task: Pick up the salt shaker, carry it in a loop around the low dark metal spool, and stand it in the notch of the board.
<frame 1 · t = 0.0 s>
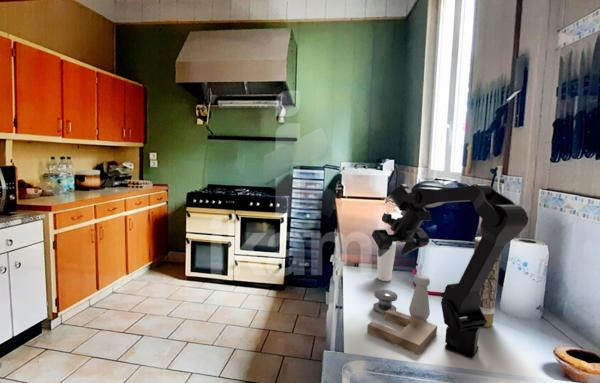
hand: (390, 254, 112), 15 cm above the countertop, tool tilted 35°, fingers open, 9 cm apart
notched board: (402, 333, 90), on the countertop
spool: (384, 309, 104), on the countertop
salt shaker: (418, 319, 100), on the countertop
wooden log: (479, 322, 99), on the countertop
drinking glass: (384, 279, 130), on the countertop
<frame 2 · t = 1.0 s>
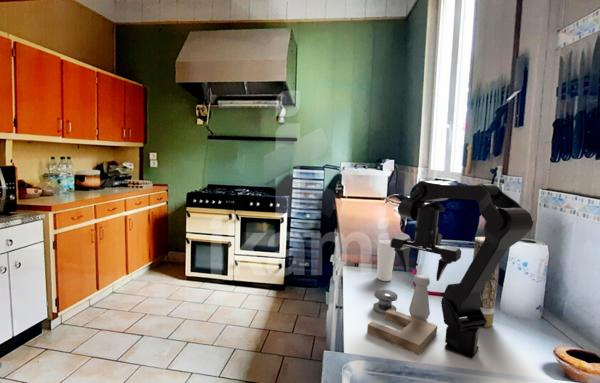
hand: (421, 276, 98), 13 cm above the countertop, tool pointing down, fingers open, 9 cm apart
nothing on the countertop moved.
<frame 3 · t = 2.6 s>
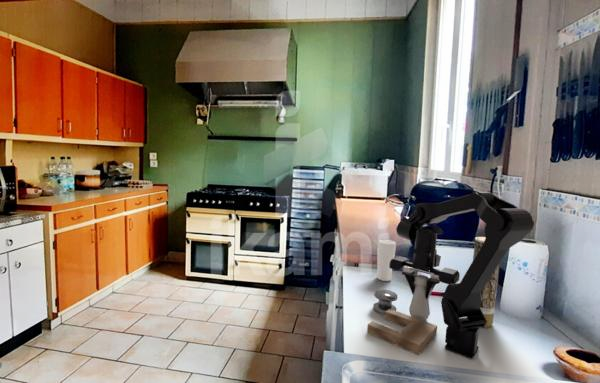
hand: (420, 297, 99), 7 cm above the countertop, tool pointing down, fingers closed on salt shaker, 3 cm apart
salt shaker: (418, 319, 100), on the countertop, touching gripper
everything else where it was.
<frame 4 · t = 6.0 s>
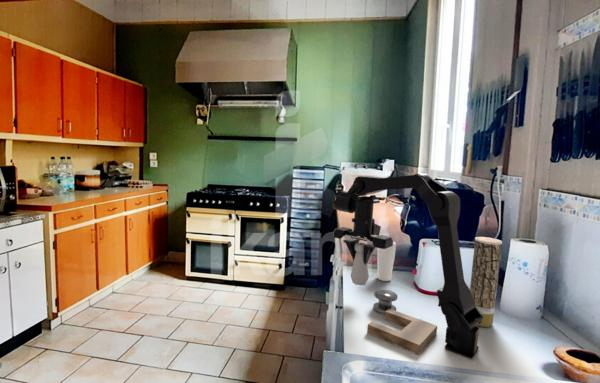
hand: (360, 263, 108), 13 cm above the countertop, tool pointing down, fingers closed on salt shaker, 3 cm apart
salt shaker: (359, 283, 108), point 6 cm above the countertop, touching gripper
everything else where it was.
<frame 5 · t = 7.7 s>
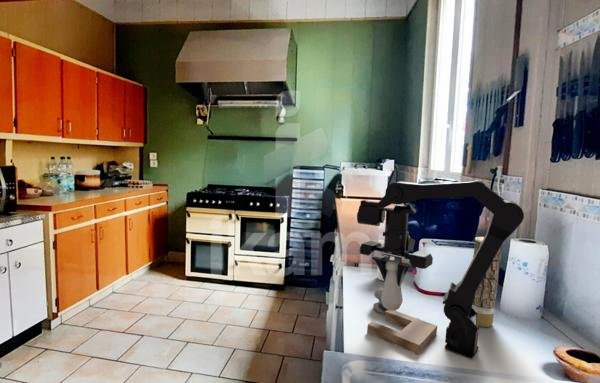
hand: (392, 284, 92), 13 cm above the countertop, tool pointing down, fingers closed on salt shaker, 3 cm apart
salt shaker: (391, 307, 92), point 6 cm above the countertop, touching gripper
everything else where it was.
when the fingers open (8 cm above the countertop, at t = 9.3 s): salt shaker drops 1 cm, on the countertop.
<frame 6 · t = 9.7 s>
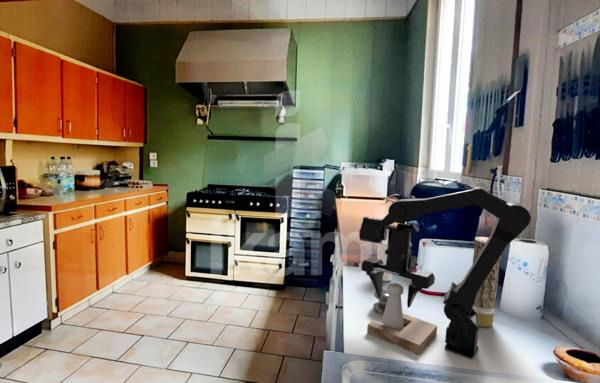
hand: (394, 301, 91), 8 cm above the countertop, tool pointing down, fingers open, 8 cm apart
salt shaker: (392, 330, 92), on the countertop
everything else where it was.
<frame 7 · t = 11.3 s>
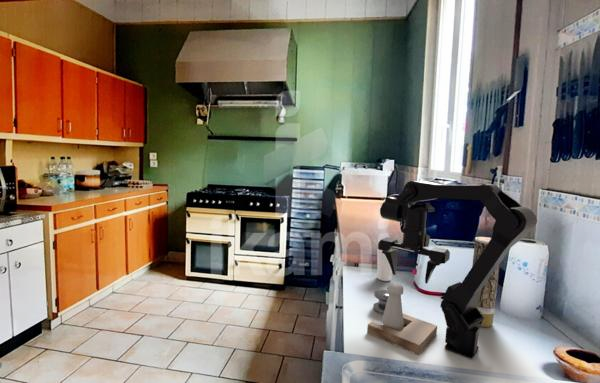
hand: (410, 278, 96), 13 cm above the countertop, tool pointing down, fingers open, 9 cm apart
nothing on the countertop moved.
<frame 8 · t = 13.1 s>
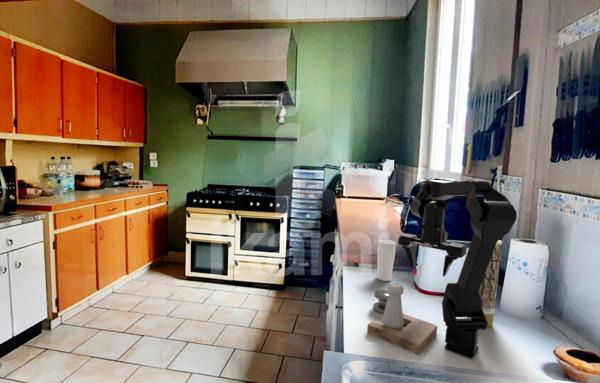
hand: (428, 272, 102), 13 cm above the countertop, tool pointing down, fingers open, 9 cm apart
nothing on the countertop moved.
at the end: salt shaker 0.1 cm from the target spot on the notched board, point 0.0 cm above the notched board's base; salt shaker tilted 0°; the gripper is holding nothing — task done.
